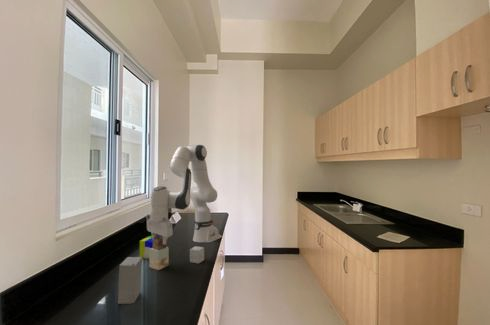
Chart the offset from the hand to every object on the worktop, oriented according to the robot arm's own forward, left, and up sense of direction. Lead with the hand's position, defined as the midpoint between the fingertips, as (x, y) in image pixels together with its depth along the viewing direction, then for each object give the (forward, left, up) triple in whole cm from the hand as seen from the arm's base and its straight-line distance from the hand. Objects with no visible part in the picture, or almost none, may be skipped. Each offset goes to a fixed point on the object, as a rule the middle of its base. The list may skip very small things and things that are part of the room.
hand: (159, 242), depth 132 cm
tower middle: (0, 0, -8) cm, 8 cm away
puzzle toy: (-6, -18, -13) cm, 23 cm away
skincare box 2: (-18, +10, -13) cm, 24 cm away
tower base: (0, 0, -13) cm, 13 cm away
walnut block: (0, 0, -3) cm, 3 cm away
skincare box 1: (+25, +20, -13) cm, 35 cm away
